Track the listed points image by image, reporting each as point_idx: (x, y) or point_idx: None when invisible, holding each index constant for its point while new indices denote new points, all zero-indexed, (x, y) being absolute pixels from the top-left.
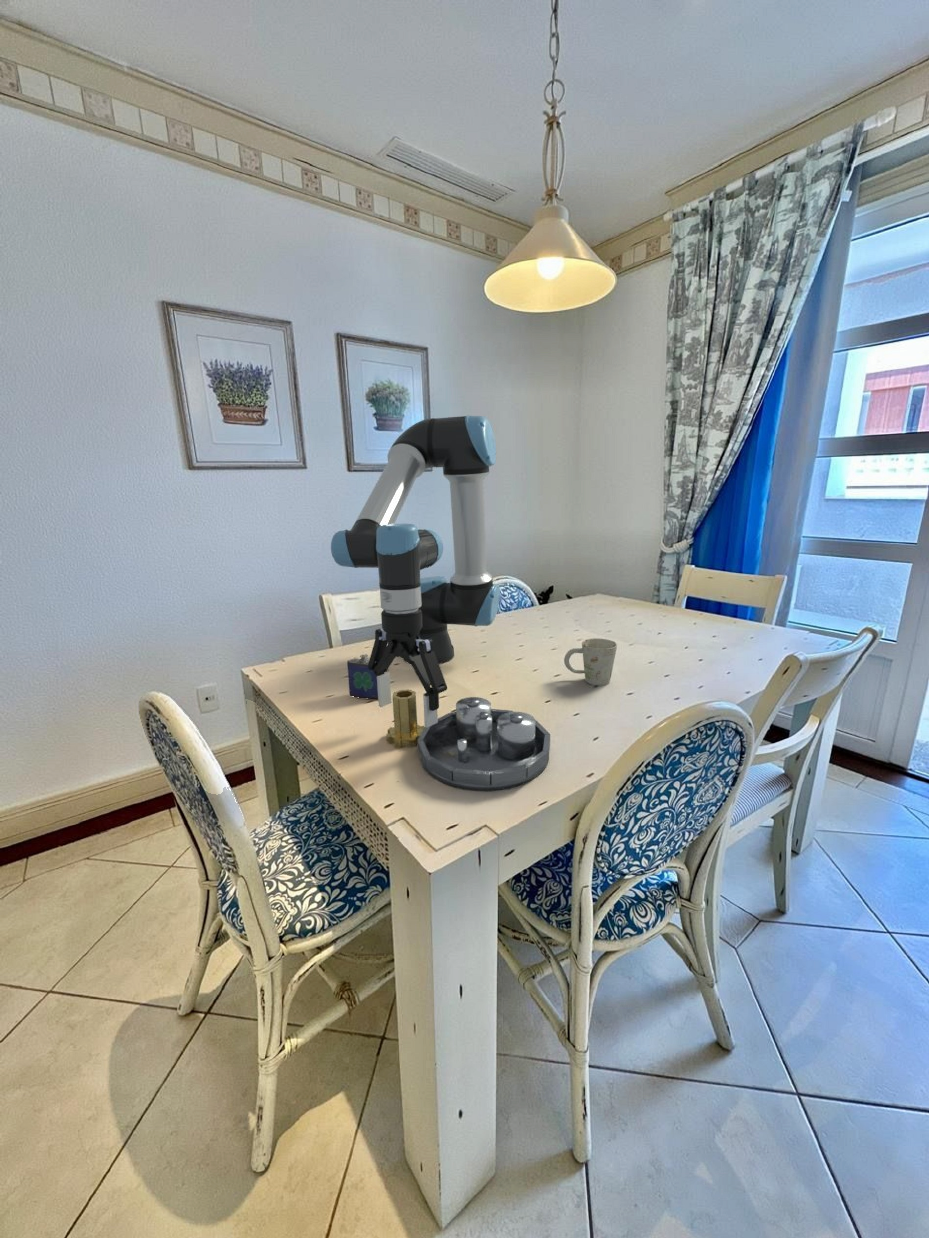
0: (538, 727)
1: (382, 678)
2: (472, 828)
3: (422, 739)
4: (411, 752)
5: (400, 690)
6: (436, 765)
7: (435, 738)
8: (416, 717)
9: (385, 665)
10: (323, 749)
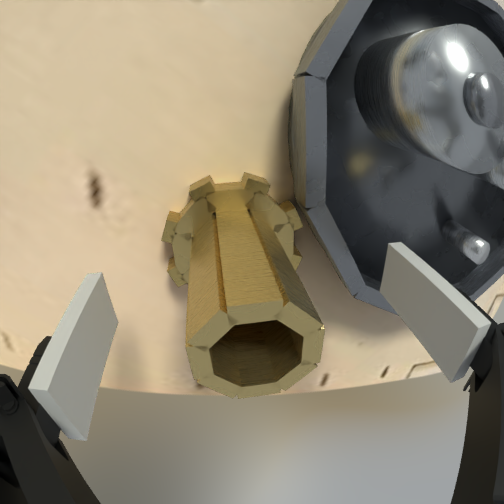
0: None
1: (79, 416)
2: (486, 310)
3: (363, 284)
4: (308, 273)
5: (194, 347)
6: None
7: (340, 202)
8: (287, 256)
9: (88, 497)
10: (139, 390)
